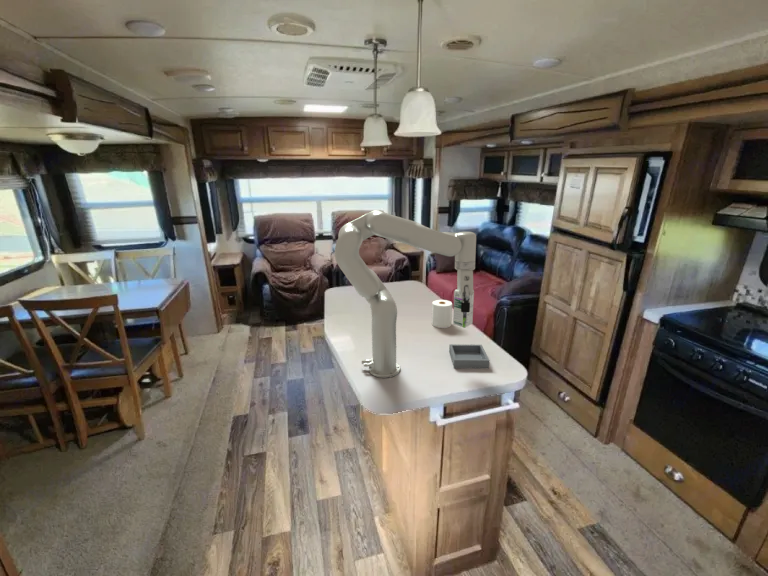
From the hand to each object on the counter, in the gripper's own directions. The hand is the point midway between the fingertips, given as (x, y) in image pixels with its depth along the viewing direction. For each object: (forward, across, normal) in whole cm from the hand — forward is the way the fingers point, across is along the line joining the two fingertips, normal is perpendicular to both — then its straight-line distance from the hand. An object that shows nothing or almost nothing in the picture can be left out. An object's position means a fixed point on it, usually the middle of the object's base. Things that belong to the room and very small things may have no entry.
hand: (463, 307), depth 138 cm
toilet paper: (+25, +41, +5) cm, 48 cm away
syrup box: (+7, 0, 0) cm, 7 cm away
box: (+25, +3, -3) cm, 25 cm away
